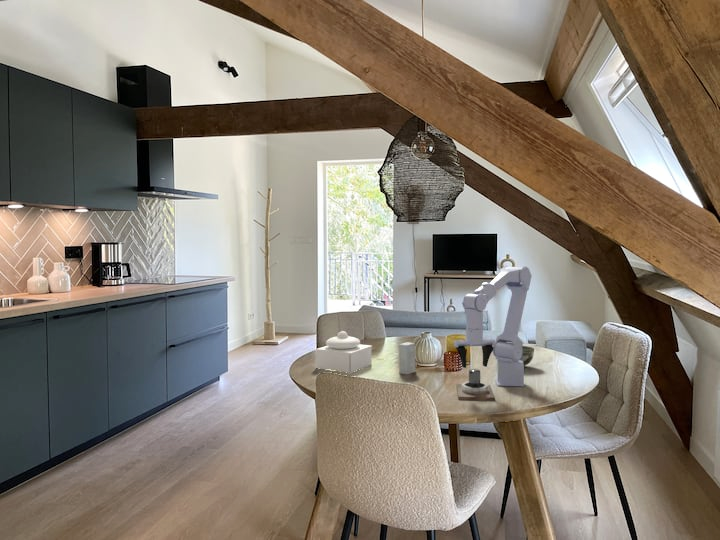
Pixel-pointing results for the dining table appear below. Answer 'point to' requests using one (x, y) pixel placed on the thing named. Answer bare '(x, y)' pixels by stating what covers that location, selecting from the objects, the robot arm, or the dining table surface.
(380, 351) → the dining table surface
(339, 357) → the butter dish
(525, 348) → the bowl
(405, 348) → the skincare box
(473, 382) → the cylinder
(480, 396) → the collar board
